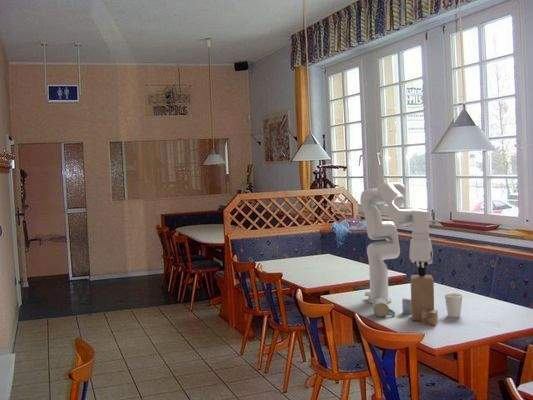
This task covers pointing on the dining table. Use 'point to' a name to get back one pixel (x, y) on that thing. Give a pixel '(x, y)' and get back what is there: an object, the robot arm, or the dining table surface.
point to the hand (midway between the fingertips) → (422, 275)
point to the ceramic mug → (381, 308)
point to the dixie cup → (453, 304)
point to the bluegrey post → (406, 305)
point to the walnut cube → (429, 317)
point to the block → (421, 295)
